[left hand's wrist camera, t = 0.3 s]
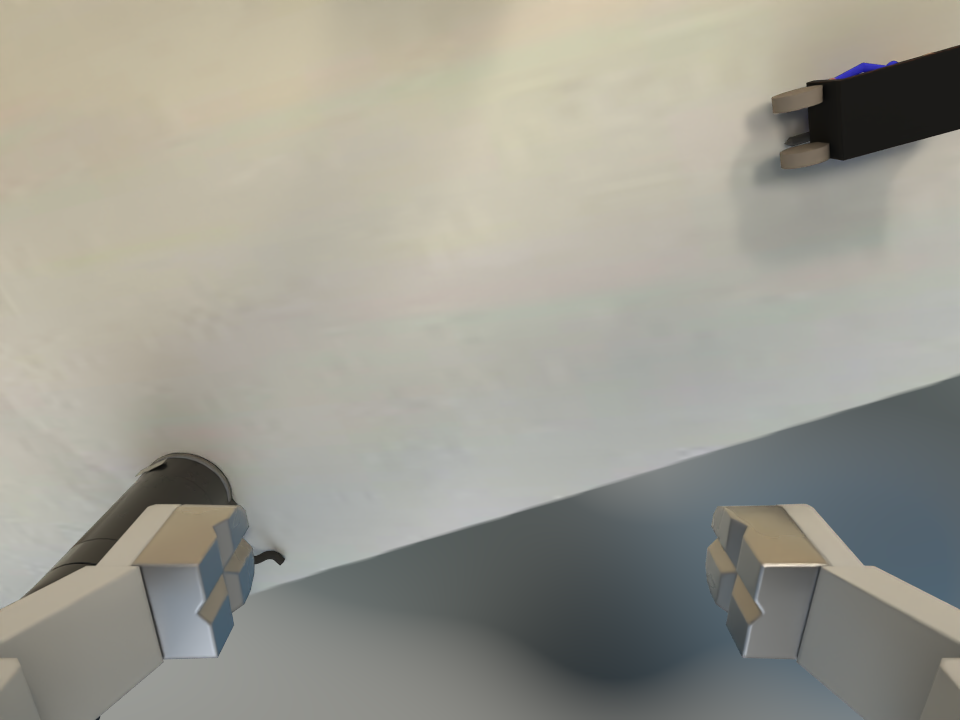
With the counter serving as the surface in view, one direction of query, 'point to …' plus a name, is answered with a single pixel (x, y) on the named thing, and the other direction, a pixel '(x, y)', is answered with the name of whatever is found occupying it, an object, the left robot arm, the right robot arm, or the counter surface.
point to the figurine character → (874, 108)
